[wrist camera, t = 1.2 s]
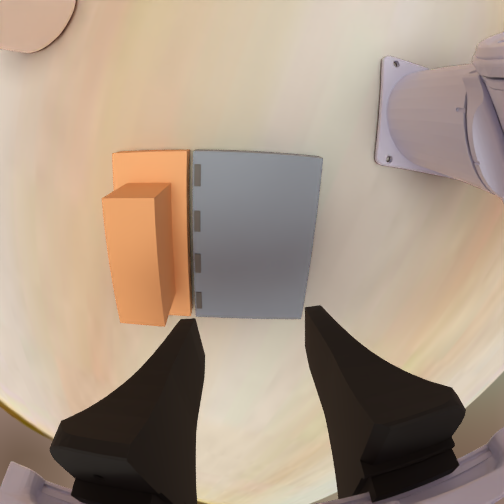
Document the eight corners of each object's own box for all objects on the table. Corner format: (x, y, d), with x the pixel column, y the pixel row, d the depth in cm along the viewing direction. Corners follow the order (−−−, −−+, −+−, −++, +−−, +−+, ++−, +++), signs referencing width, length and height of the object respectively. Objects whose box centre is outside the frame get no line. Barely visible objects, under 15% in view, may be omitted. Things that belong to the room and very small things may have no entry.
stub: (189, 149, 19) (172, 158, 14) (192, 307, 23) (183, 351, 19) (118, 151, 18) (83, 162, 14) (132, 303, 23) (112, 344, 18)
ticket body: (318, 156, 19) (323, 158, 18) (298, 310, 24) (301, 319, 23) (196, 149, 19) (193, 151, 18) (197, 307, 24) (195, 317, 22)
